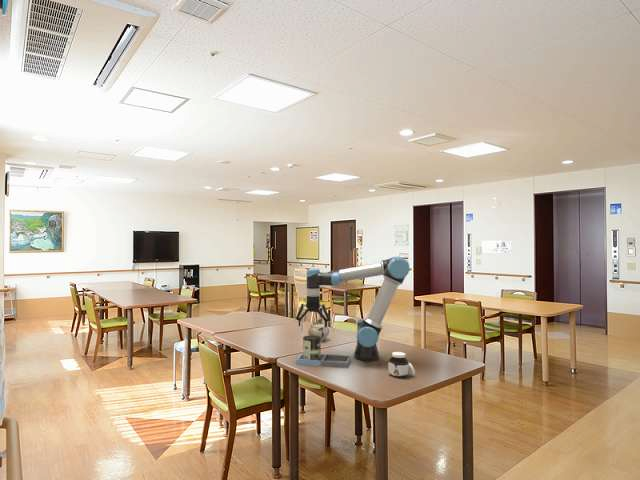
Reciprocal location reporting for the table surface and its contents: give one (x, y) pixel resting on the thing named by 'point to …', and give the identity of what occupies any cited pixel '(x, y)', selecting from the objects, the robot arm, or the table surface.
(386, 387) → the table surface
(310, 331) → the sugar bowl
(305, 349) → the coffee can
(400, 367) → the spread jar
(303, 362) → the bay tray
